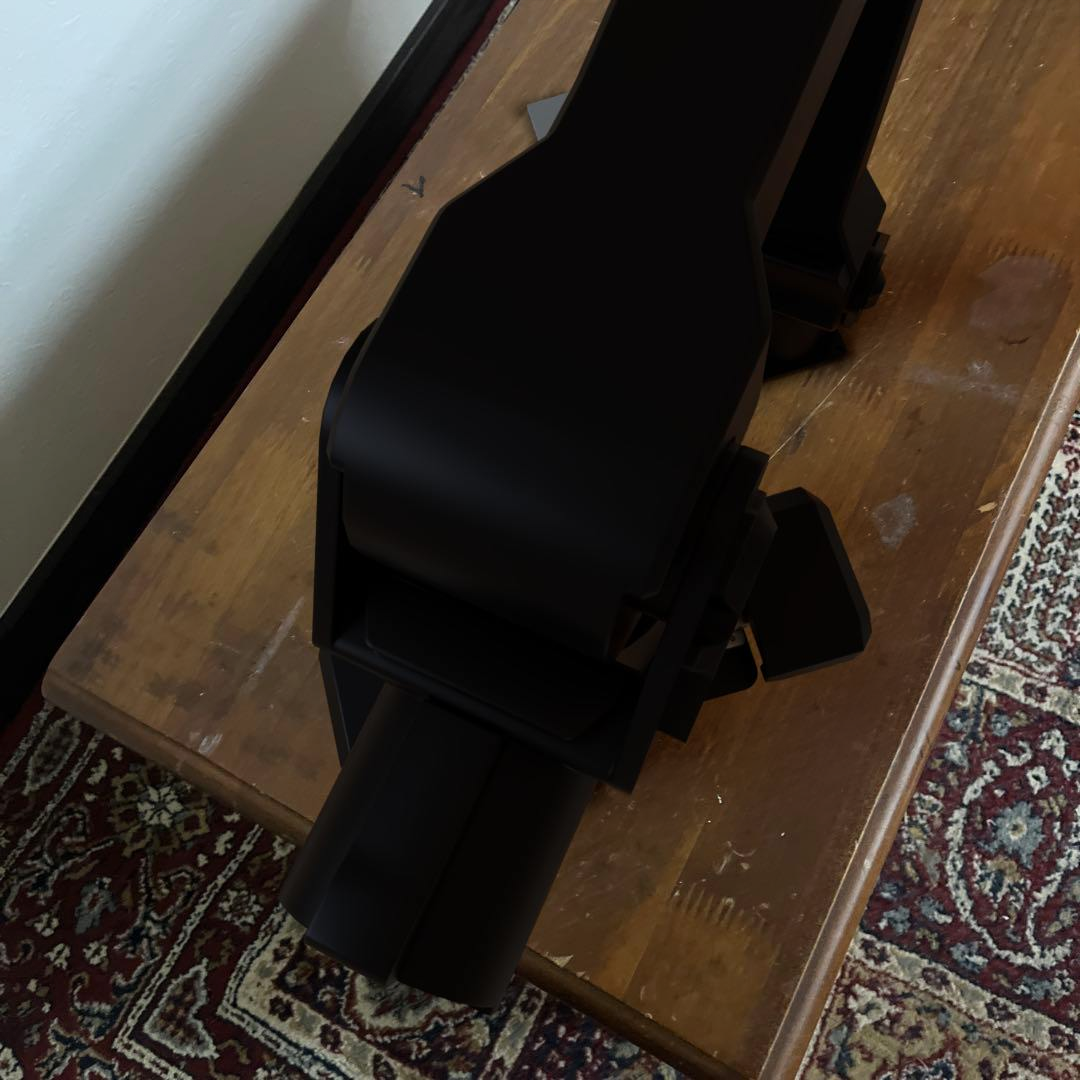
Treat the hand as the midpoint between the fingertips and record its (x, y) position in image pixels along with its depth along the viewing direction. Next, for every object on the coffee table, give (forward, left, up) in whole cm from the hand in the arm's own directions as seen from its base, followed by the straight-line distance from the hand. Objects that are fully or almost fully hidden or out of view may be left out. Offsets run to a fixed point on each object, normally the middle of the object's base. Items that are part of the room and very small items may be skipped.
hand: (599, 677), depth 42 cm
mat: (-11, -37, -13) cm, 41 cm away
